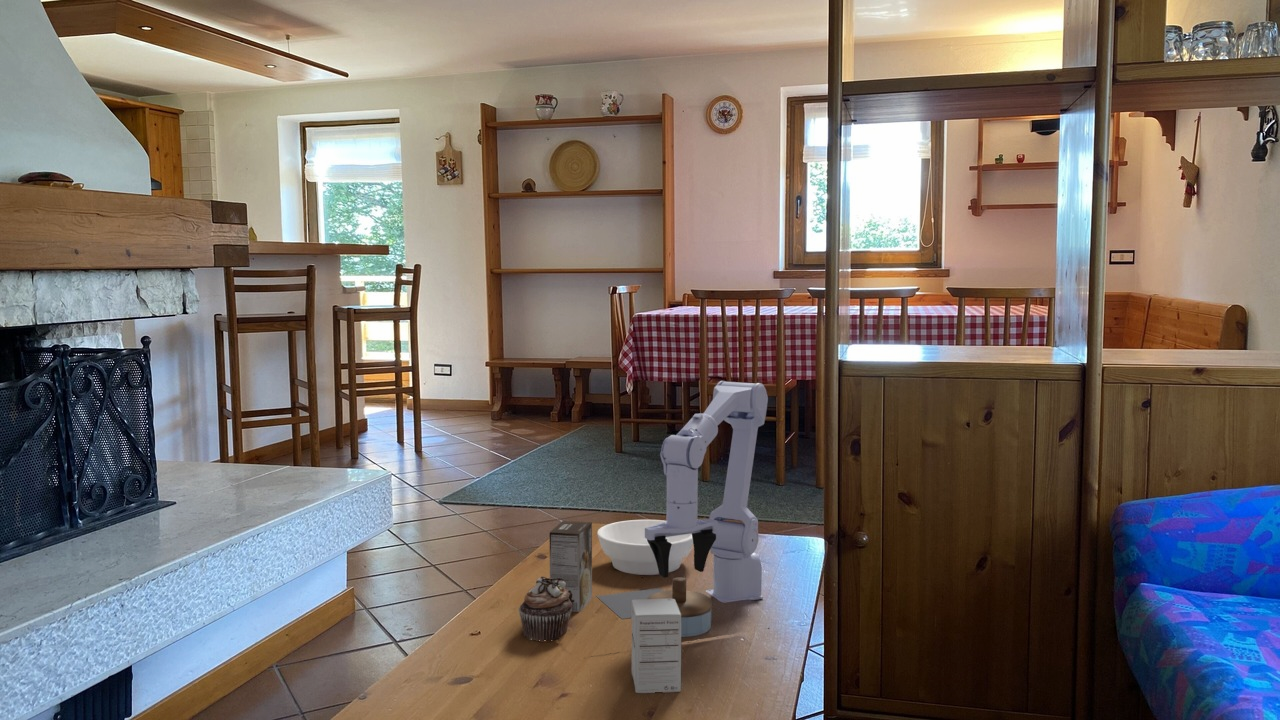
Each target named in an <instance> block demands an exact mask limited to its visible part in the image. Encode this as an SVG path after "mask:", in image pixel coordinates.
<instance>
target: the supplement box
mask: <svg viewBox="0 0 1280 720" xmlns="http://www.w3.org/2000/svg"><path fill="white" fill-rule="evenodd" d="M631 676H632V679H633V685H634V691H635V693H636V694H652V693H653V694H654V693H655V692H663V693H679V692H682V637H681V613H680V610H679V608H678V605H677V603H676V600H675V599H639V600H632V618H631ZM655 694H656V693H655Z"/></svg>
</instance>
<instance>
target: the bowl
mask: <svg viewBox="0 0 1280 720" xmlns="http://www.w3.org/2000/svg"><path fill="white" fill-rule="evenodd" d="M662 523H666V520H663V519H662V520H661V519H632V520H631V519H630V520H622V521H617V522H612V523H608V524H605V525H603V526H602V527H600V528H598V530H596V531H597V533H596V534H597V538H598V540H599V544H600V546H601V549H602V552H603V553H604V554H605V555H606V556H607V557H609V558H610V560H611V561H610V562H612V566H613V568H614V569H616V570H618V571H620V572H622V573H626V574H630V575H641V576H655V575H656V576H657V575H659V571H658V566H657V562H656V559H655V556H654V553H653V551H652V549H651V547H650V545H649V543H648V541H647V539H646V538H645V528H646V527H652V526H655V525H659V524H662ZM666 539H667V541H668V542H670V543H671V544H672V545H671V549H670V554H669V572H668V574H669V573H672V572H674V571H675V572H676V570H678V569H679V568H680V567H681V565H682V562H683V558H685V557H687V556H688V555H690V553H691V551H692V548H693V546H694V545H693V538H692V533H691V534H684V535H677V536H670V537H666Z"/></svg>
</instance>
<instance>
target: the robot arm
mask: <svg viewBox="0 0 1280 720" xmlns="http://www.w3.org/2000/svg"><path fill="white" fill-rule="evenodd" d="M767 393H768V392H767V389H766V387H765V385H764V384H763V383H762V382H756V383H752V382H739V381H737V382H736V381H725V380H720V381H718V383H717V384H716V385H715V386H714V387H713V392H712V400H711V401H710V403H709V405H708V406H707V407H706V409H705V410H704V412H703V413H694V415H692V417H691V418H690V419H689V420H688V422H687V423H685V425H684V426H683V427H682V428H681V429H680V431H678V432H677V433H676V435H675V434H671V435H669V436H668V437H666V438H665V439H664V440H663V442H662V445H661V449H660V450H661V451H660V453H659V455H660V460H661V463H662V465H663V466H662V467H663V473H664V476H666V518H665V521H666V523H662V524H659V525H655V526H652V527H646V528H645V538H646V539H647V541H648V543H649V545H650V547H651V549H652V551H653V553H654V556H655V559H656V562H657V566H658V571H659V574H658V575H659V576H660V577H662V578H664V579H665V578H669V573H670V572H669V554H670V549H671V545H672V544H671V543H670V542H668V541H667V539H666V537H670V536H677V535H684V534H691V533H692V538H693V545H692V546H693V553H694V554H693V566H694V567H693V568H694V570H695V571H697V572H700V573H703V572H704V570H705V567H706V562H707V559H708V555H709V553H710V554H712V555H713V570H712V571H713V572H712V573H713V575H712V576H713V577H712V578H713V579H712V580H713V581H712V589H707V590H705V592H706V593H707V594H709V595H710V596H712V597H713V598H715V600H716V599H717V601H719V602H721V603H722V604H725V603H731V602H732V603H733V602H737V601H744V600H750V601H756V600H763V599H764V595H762V579H763V578H762V575H763V574H762V570H763V567H762V562H761V558H760V556H759V555H758V554H757V553H756V552H755V551H756V550H757V547H758V544H759V520H758V518H757V517H756V515H755V514H753V512H752V510H750V509H749V508H748V502H749V495H750V494H749V493H750V487H751V480H752V479H751V478H752V471H753V467H754V460H755V459H754V458H755V452H756V451H755V450H756V444H757V438H758V437H757V436H758V430H759V427H762V426H764V424H765V421H766V416H767V409H768V402H769V396H768V394H767ZM723 421H724V422H726V423H728V424H730V425H731V428H732V436H731V437H732V438H731V443H730V452H729V458H728V465H727V470H726V471H727V472H726V478H725V484H724V485H725V486H724V490H723V491H724V493H723V498H722V503H721V505H720V506H718V507H716V508H715V509H713V510H712V511H711V512H710V514H709V517H708V519H707V518H706V519H703V518H702V519H698V513H699V511H698V500H699V499H698V498H699V497H698V496H699V495H698V494H699V493H698V491H699V490H698V489H699V485H698V484H699V482H698V481H699V468H700V467H701V466H702V464H703V461H704V458H705V456H706V455H705V454H706V453H707V449H708V448H707V447H708V446H709V445H710V444H711V443H712V441H714V439H715V438H716V437H717V436H718V433H719V427H718V426H719V425H720V424H721V423H722V422H723ZM729 520H733V521H729ZM734 521H735V522H734ZM736 521H739V522H736ZM740 521H741V522H742V523H741V522H740ZM668 572H669V573H668Z"/></svg>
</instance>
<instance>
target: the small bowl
mask: <svg viewBox="0 0 1280 720" xmlns="http://www.w3.org/2000/svg"><path fill="white" fill-rule="evenodd" d="M711 626H712V609H711V610H710V611H709V612H707V613H705V614H702V615H699V616H694V617H681V638H682V637H684V638H685V637H694V636H700V635H704V634H705V633H707V632H708V631H710V629H711Z"/></svg>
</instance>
